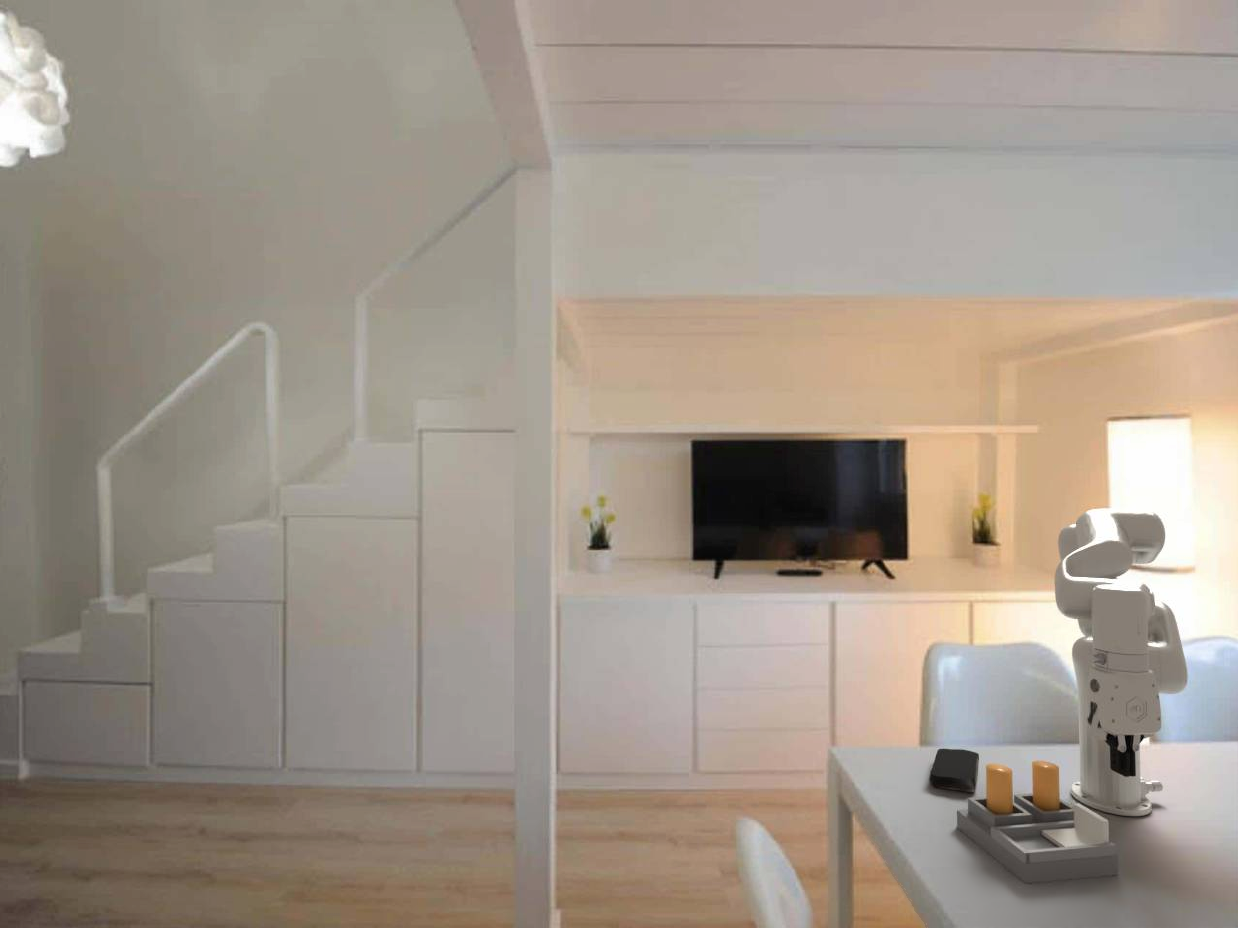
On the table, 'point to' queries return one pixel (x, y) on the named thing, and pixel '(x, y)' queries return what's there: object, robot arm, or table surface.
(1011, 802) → the peg
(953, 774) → the black sponge
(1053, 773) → the housing
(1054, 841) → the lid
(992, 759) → the table surface
